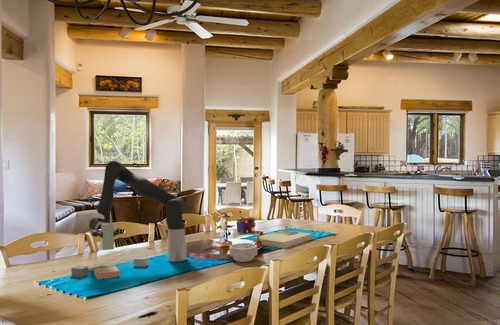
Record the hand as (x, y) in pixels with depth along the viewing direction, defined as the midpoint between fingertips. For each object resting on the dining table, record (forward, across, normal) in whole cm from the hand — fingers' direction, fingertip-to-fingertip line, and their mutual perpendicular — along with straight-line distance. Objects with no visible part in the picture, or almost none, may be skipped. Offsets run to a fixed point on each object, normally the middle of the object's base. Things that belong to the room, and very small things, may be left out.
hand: (108, 234), depth 195 cm
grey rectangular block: (-5, -12, +19) cm, 23 cm away
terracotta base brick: (0, -1, +20) cm, 20 cm away
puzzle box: (-29, +115, +20) cm, 120 cm away
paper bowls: (+4, +69, +19) cm, 72 cm away
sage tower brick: (-3, 0, +7) cm, 7 cm away
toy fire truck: (-18, +90, +19) cm, 94 cm away
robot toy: (-73, +109, +19) cm, 133 cm away
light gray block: (-10, +17, +19) cm, 28 cm away
